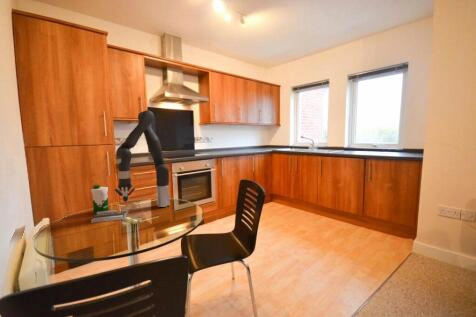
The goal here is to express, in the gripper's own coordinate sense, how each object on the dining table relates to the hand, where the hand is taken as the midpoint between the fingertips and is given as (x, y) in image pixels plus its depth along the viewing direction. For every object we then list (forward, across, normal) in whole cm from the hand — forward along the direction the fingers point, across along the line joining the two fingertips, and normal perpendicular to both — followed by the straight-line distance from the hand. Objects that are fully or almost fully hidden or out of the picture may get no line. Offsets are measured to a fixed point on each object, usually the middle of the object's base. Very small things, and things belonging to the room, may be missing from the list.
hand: (125, 201), depth 150 cm
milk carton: (+11, +19, -12) cm, 25 cm away
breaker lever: (+8, +4, 0) cm, 9 cm away
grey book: (+9, +10, 0) cm, 13 cm away
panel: (+10, +9, 0) cm, 14 cm away
